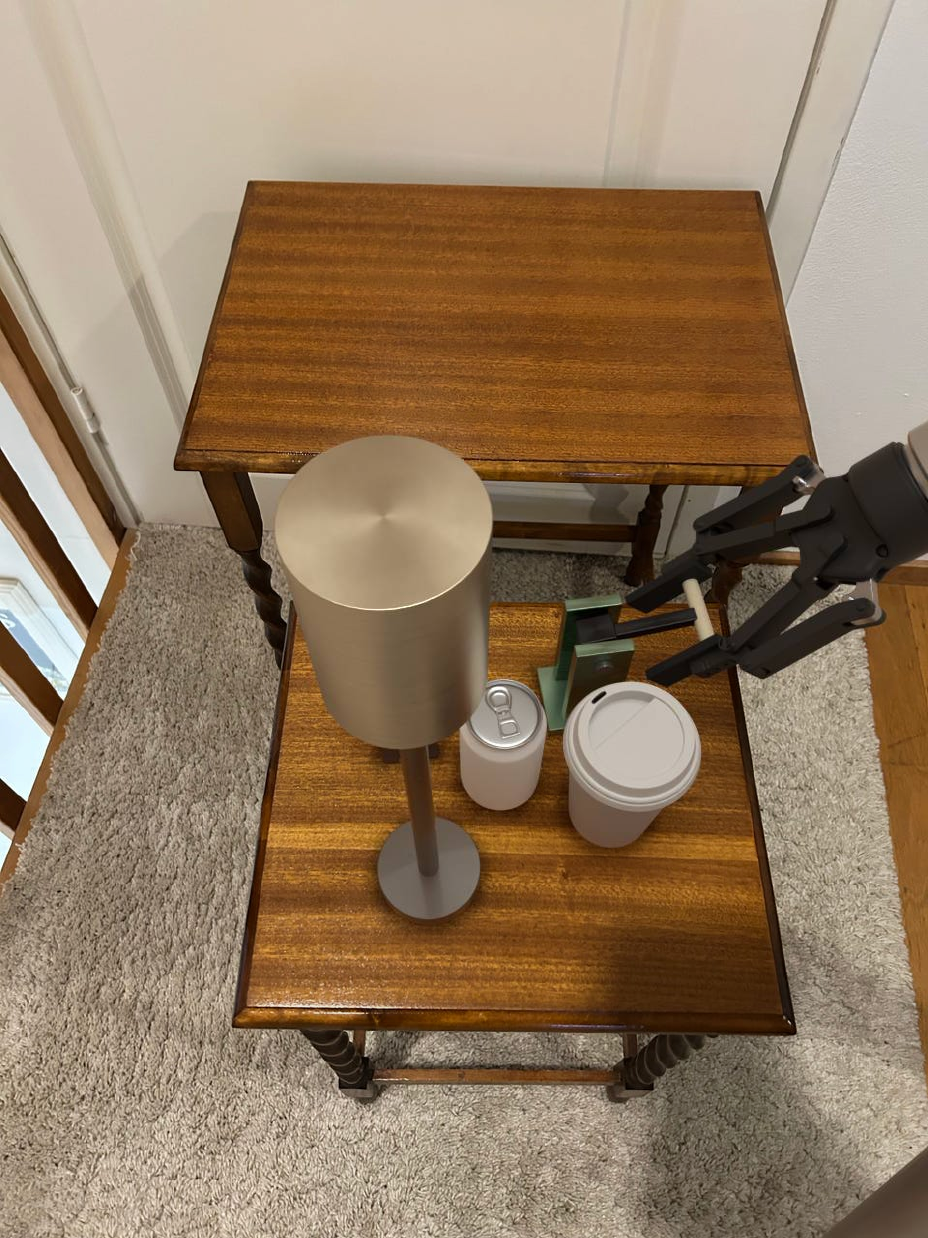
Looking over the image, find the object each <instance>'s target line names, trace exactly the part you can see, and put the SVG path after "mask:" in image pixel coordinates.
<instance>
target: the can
mask: <svg viewBox="0 0 928 1238" xmlns="http://www.w3.org/2000/svg"><path fill="white" fill-rule="evenodd" d="M546 737H547V721H546V715H545V712H544V709H543V707H542V702H541V700H540V699H539V697H538V695H537V694H536V693H535V691H533V690H532V689H531V688H530V687H529V686H528V685H527V684H524V683H523V682H521V681H518V680H515V679H511V678H497V679H492V680H487V684H486V689H485V692H484V695H483V698H482V700H481V702H480V704H479V706H478V708H477V709H476V711H475V712H474V714H473V715H472V716H471V718H470V719H469V720H468V721H467V722H466V723H465V724H464V725H463V726H462V727H460V728H459V758H460V759H459V761H460V762H459V764H460V765H459V766H460V777H461V783H462V786H463V788H464V790H465V792H466V793H467V795H468V797H470V799H471V800H472V801H474V802H475V803H476V804H478V805H479V806H481V807H483V808H486V809H488V810H493V811H508V810H513V809H515V808H518V807H519V806H521V805H523V804H525V803H526V802H527V801H528V800H529V799H530V798H531V796H532V795H533V794H534V792H535V790H536V788H537V786H538V783H539V779H540V773H541V767H542V762H543V756H544V750H545V744H546Z"/></svg>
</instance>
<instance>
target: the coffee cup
mask: <svg viewBox="0 0 928 1238" xmlns="http://www.w3.org/2000/svg"><path fill="white" fill-rule="evenodd" d="M562 735H563V737H562V749H563V755H564V758H565V759H564V760H565V762H566V765H567V768H568V770H569V771H568V814H569V818H570V821H571V823H572V825H573V827H574V829H575V830H576V831H577V833H578V834H579V835H580V837H582V838H583V839H585V840H586V841H587V842H589V843H591V844H593V845H595V846H598V847H601V848H607V849H616V848H622V847H625V846H628V845H630V844H632V843H634V842H635V841H637V839H639V837H641V835H642V834H643V833H644V832H645V830H646V829H647V828H648V827H649V826H650V825H651V823H652V822H653V821H654V820H655V819H656V817H657V816H658V815H659V814H660V813H661V812H662V810H663V809H664V808H665V807H667V806H670V805H671V804H673V803H674V802H676V801H677V800H679V799H681V798H682V797H683V796H684V795H685V794H686V793H687V792H688V791H689V790H690V788H691V787H692V785H694V782H695V780H696V778H697V776H698V774H699V772H700V771H699V770H700V767H701V762H702V745H701V738H700V735H699V731H698V729H697V725H696V724H695V722H694V720H693V718H692V717H691V715H690V713H689V712H688V711H687V710H686V708H685V707H684V706H683V704H682V703H681V702H680V701H678V699H676V698H675V697H674V696H673V695H672V694H671V693H669V692H667V691H666V690H664V689H662V688H660V687H659V686H656V685H653V684H650V683H646V682H641V681H625V682H621V683H614V684H610V685H607V686H604V687H601V688H599V689H597V690H595V691H593V692H592V693H590V694H589V695H587V696H586V697H585V698H584V699H583V700H582V701H581V702H580V703H579V704H578V705H577V706H576V707H575V708H574V710H573V711H572V713H571V714H570V716H569V718H568V720H567V723H566V726H565V729H564V734H562Z"/></svg>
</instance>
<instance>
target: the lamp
mask: <svg viewBox="0 0 928 1238" xmlns="http://www.w3.org/2000/svg"><path fill="white" fill-rule="evenodd" d="M493 532H494V511H493V504H492V501H491V497H490V494H489V492H488V489H487V487H486V485H485V483H484V482H483V480H482V479H481V477H480V476H479V474H478V473H477V472H476V471H475V469H473V467H472V466H471V465H470V464H469V463H468V462H466V460H464V459H463V458H462V457H460V456H459V455H457V454H456V453H454V452H453V451H451V450H450V449H448V448H446V447H443V446H442V445H440V444H437V443H435V442H432V441H430V440H426V439H422V438H419V437H415V436H414V437H413V436H408V435H399V434H382V435H381V434H380V435H369V436H363V437H359V438H355V439H351V440H347V441H345V442H342V443H339V444H336V445H334V446H332V447H330V448H327V449H326V450H324V451H322V452H321V453H319V454H318V455H316V456H315V457H313V458H311V459H310V460H308V461H307V462H306V463H305V464H304V465H303V466H302V467H300V468H299V470H297V472H296V473H295V474H294V475H293V476H292V477H291V479H290V480H289V482H288V483H287V484H286V486H285V487H284V489H283V491H282V492H281V494H280V496H279V500H278V502H277V504H276V509H275V512H274V517H273V537H274V544H275V548H276V550H277V554H278V557H279V560H280V563H281V566H282V571H283V573H284V576H285V580H286V584H287V586H288V590H289V594H290V597H291V600H292V603H293V607H294V609H295V613H296V616H297V620H298V622H299V626H300V629H301V632H302V636H303V639H304V643H305V647H306V649H307V652H308V656H309V659H310V662H311V666H312V669H313V672H314V676H315V679H316V682H317V685H318V688H319V691H320V695H321V698H322V701H323V703H324V705H325V708H326V709H327V711H328V713H329V714H330V716H331V718H332V719H333V720H334V721H335V722H336V723H337V724H338V725H339V727H340V728H342V729H343V730H344V731H345V732H346V733H348V734H350V735H351V736H352V737H354V738H356V739H358V740H360V741H362V742H363V743H366V744H369V745H372V746H375V747H379V748H381V747H383V748H389V749H399V752H400V756H399V759H400V763H401V769H402V777H403V783H404V787H405V793H406V800H407V806H408V807H407V808H408V813H409V818H410V820H408V821H406V822H404V823H402V824H400V825H399V826H397V827H396V828H395V829H394V830H393V831H392V832H391V833H390V834H389V835H388V836H387V838H386V839H385V841H384V842H383V843H382V846H381V848H380V851H379V853H378V856H377V857H378V858H377V861H376V877H377V881H378V885H379V889H380V892H381V894H382V897H383V899H384V901H385V902H386V904H387V906H388V907H389V908H390V909H391V910H392V912H393V913H394V914H396V915H397V916H398V917H400V918H401V919H403V920H405V921H407V922H409V923H412V924H415V925H419V926H426V927H427V926H429V927H431V926H439V925H443V924H446V923H449V922H451V921H453V920H455V919H456V918H458V917H459V916H461V915H463V913H464V912H465V911H467V909H468V908H469V907H470V906H471V905H472V903H473V901H474V900H475V898H476V895H477V894H478V891H479V888H480V884H481V876H482V863H481V857H480V852H479V849H478V846H477V845H476V842H475V841H474V839H473V838H472V836H471V835H470V834H469V833H468V832H467V831H466V830H465V829H464V828H463V827H462V826H461V825H459V824H457V823H456V822H454V821H452V820H450V819H447V818H444V817H441V816H440V817H439V816H436V815H435V805H434V797H433V786H432V777H431V776H432V775H431V767H430V765H431V764H430V758H429V754H428V745H429V744H432V743H435V742H438V743H439V741H442V740H444V739H446V738H447V737H449V736H451V735H452V734H454V733H456V732H457V731H458V730H460V727H462V726H463V725H464V724H465V723H466V722H467V721H468V720H469V719H470V718H471V716H472V715H473V714H474V712H475V711H476V709H477V708H478V706H479V704H480V702H481V700H482V698H483V695H484V692H485V689H486V684H487V682H488V674H489V649H490V623H491V622H490V621H491V591H492V590H491V589H492V565H493V564H492V561H493V539H494V538H493V535H494V533H493Z"/></svg>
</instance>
